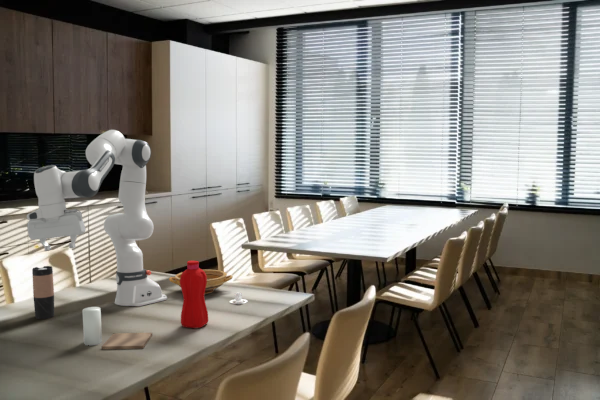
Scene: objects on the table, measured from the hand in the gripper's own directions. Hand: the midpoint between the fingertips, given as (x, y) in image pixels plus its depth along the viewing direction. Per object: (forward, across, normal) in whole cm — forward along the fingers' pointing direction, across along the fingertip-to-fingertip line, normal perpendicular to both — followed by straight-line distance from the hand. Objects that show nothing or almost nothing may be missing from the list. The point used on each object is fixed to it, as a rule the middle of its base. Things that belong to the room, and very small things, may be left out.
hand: (60, 249), depth 212 cm
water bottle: (+38, -40, -15) cm, 57 cm away
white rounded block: (+33, -10, +8) cm, 35 cm away
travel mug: (+31, +24, -21) cm, 45 cm away
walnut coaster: (+34, -22, +7) cm, 41 cm away
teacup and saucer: (+41, -47, -47) cm, 78 cm away
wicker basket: (+39, -27, -66) cm, 81 cm away
